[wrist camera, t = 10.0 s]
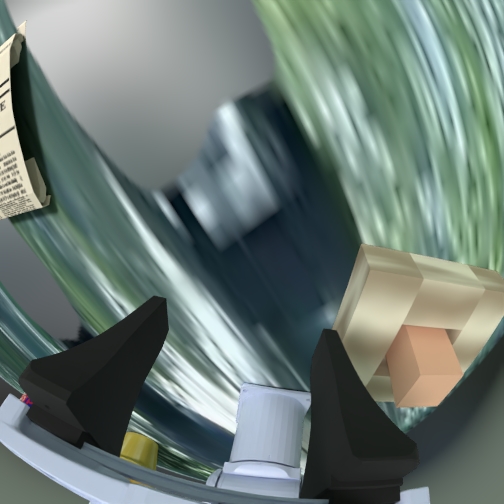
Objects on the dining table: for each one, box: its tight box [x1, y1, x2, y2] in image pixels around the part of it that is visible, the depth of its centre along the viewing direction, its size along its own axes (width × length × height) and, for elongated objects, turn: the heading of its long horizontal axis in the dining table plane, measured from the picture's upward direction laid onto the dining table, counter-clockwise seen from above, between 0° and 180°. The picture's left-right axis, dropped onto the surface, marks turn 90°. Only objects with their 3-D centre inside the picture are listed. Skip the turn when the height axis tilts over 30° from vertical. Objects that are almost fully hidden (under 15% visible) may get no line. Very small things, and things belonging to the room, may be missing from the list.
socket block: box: [332, 244, 504, 402], centre depth 22 cm, size 14×14×4 cm
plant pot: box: [120, 432, 158, 489], centre depth 41 cm, size 10×10×10 cm
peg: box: [385, 324, 464, 407], centre depth 20 cm, size 4×4×7 cm
